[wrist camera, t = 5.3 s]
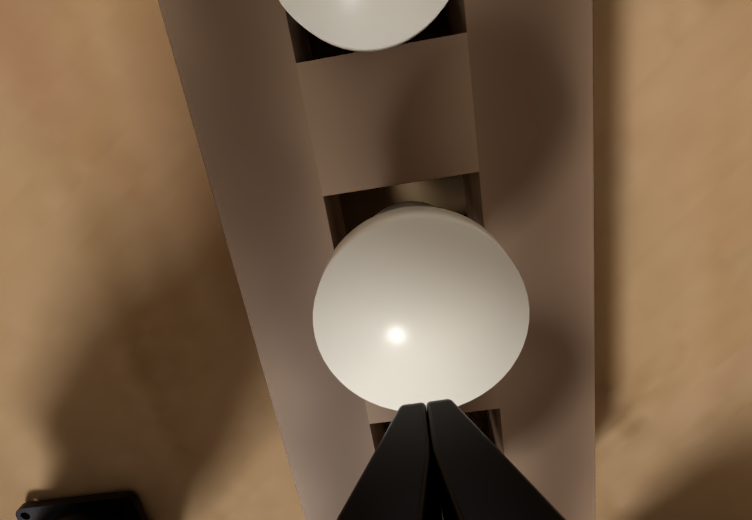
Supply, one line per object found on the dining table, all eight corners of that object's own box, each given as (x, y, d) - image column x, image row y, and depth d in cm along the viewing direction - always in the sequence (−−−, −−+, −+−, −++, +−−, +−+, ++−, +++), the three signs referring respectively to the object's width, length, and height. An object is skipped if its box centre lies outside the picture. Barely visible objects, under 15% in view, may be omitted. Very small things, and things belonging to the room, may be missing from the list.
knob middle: (349, 328, 17) (335, 423, 12) (321, 190, 16) (291, 237, 11) (492, 309, 17) (534, 399, 12) (479, 165, 15) (523, 201, 10)
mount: (329, 500, 24) (319, 570, 21) (160, -162, 15) (89, -239, 12) (564, 474, 24) (595, 543, 20) (539, -246, 14) (589, -358, 11)
